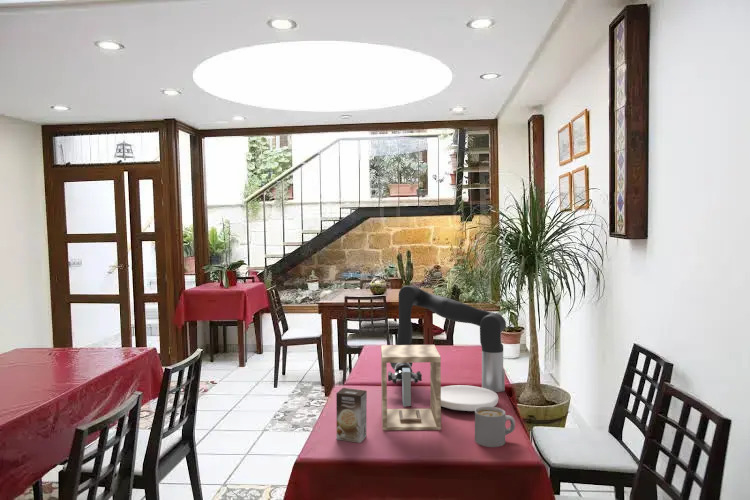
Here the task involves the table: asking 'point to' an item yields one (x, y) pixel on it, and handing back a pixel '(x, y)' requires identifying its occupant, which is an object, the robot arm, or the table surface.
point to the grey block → (406, 387)
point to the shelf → (430, 417)
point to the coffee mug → (492, 426)
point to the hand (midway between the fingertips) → (405, 381)
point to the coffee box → (351, 414)
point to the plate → (467, 397)
